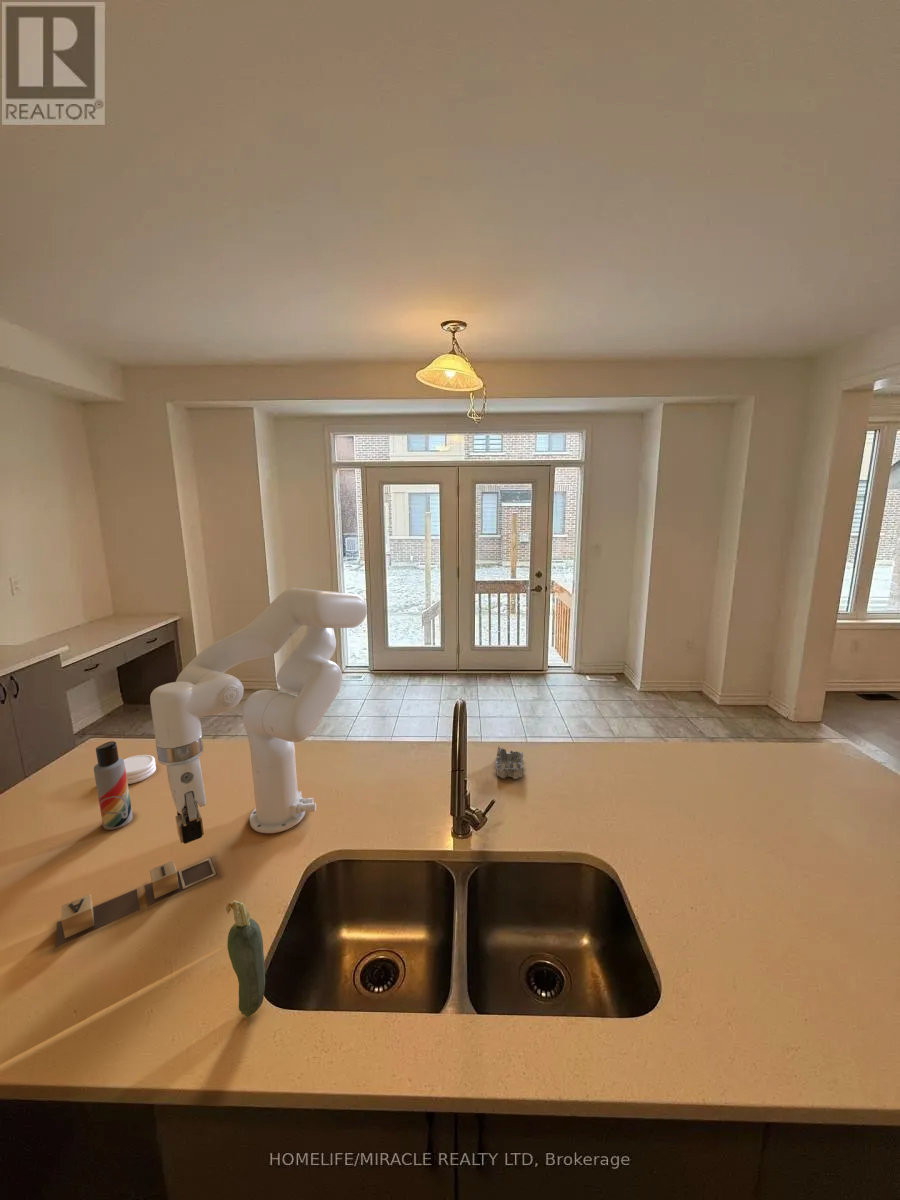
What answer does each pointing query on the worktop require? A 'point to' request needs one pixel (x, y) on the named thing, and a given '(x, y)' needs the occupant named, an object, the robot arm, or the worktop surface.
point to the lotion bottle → (112, 787)
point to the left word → (93, 915)
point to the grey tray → (177, 879)
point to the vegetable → (247, 958)
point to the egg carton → (509, 763)
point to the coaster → (139, 768)
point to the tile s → (179, 822)
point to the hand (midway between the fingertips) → (190, 832)
